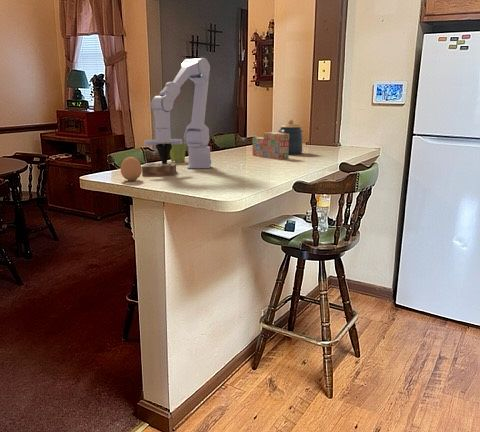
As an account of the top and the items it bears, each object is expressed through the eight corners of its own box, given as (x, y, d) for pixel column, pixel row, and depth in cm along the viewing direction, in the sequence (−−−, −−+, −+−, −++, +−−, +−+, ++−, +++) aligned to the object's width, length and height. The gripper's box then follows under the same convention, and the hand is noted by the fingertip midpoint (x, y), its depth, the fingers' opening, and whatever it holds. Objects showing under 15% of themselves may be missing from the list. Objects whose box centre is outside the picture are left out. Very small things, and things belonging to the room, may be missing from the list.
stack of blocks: (252, 155, 242) (252, 131, 239) (261, 155, 246) (261, 131, 243) (279, 159, 225) (279, 133, 222) (289, 158, 229) (289, 133, 226)
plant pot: (163, 162, 217) (162, 143, 215) (174, 160, 225) (173, 141, 223) (181, 163, 213) (181, 144, 211) (191, 160, 222) (190, 142, 220)
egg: (123, 183, 164) (121, 158, 162) (119, 179, 170) (118, 156, 168) (144, 181, 167) (143, 157, 165) (139, 178, 173) (138, 155, 171)
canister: (303, 154, 244) (304, 120, 240) (278, 154, 245) (279, 120, 240) (301, 152, 257) (301, 119, 253) (277, 152, 257) (277, 119, 253)
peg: (170, 171, 186) (170, 162, 186) (169, 173, 182) (169, 164, 182) (160, 171, 186) (159, 162, 185) (159, 173, 182) (158, 164, 181)
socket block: (176, 171, 189) (175, 162, 189) (174, 175, 180) (173, 165, 179) (146, 171, 189) (145, 162, 188) (142, 175, 179) (141, 166, 178)
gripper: (177, 127, 187) (178, 161, 190) (141, 128, 181) (143, 163, 184) (183, 128, 181) (184, 163, 184) (146, 129, 175) (148, 165, 178)
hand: (164, 163), depth 183 cm, fingers closed, pressing on peg
